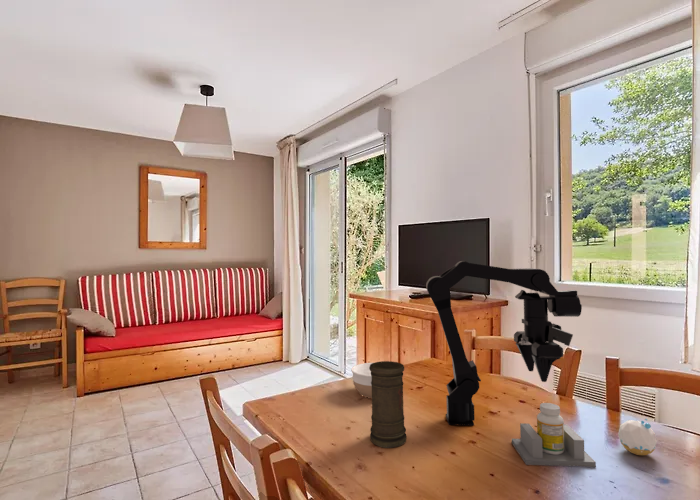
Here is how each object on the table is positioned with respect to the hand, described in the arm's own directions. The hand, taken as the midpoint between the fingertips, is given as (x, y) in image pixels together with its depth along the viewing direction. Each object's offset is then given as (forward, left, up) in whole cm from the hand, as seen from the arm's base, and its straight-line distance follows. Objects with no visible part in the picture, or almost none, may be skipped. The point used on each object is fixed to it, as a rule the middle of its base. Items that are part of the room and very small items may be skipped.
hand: (537, 376), depth 105 cm
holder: (-3, -16, -12) cm, 21 cm away
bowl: (-43, +22, -13) cm, 50 cm away
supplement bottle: (-3, -16, -12) cm, 20 cm away
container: (-39, -11, -13) cm, 42 cm away
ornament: (+16, -15, -13) cm, 25 cm away
